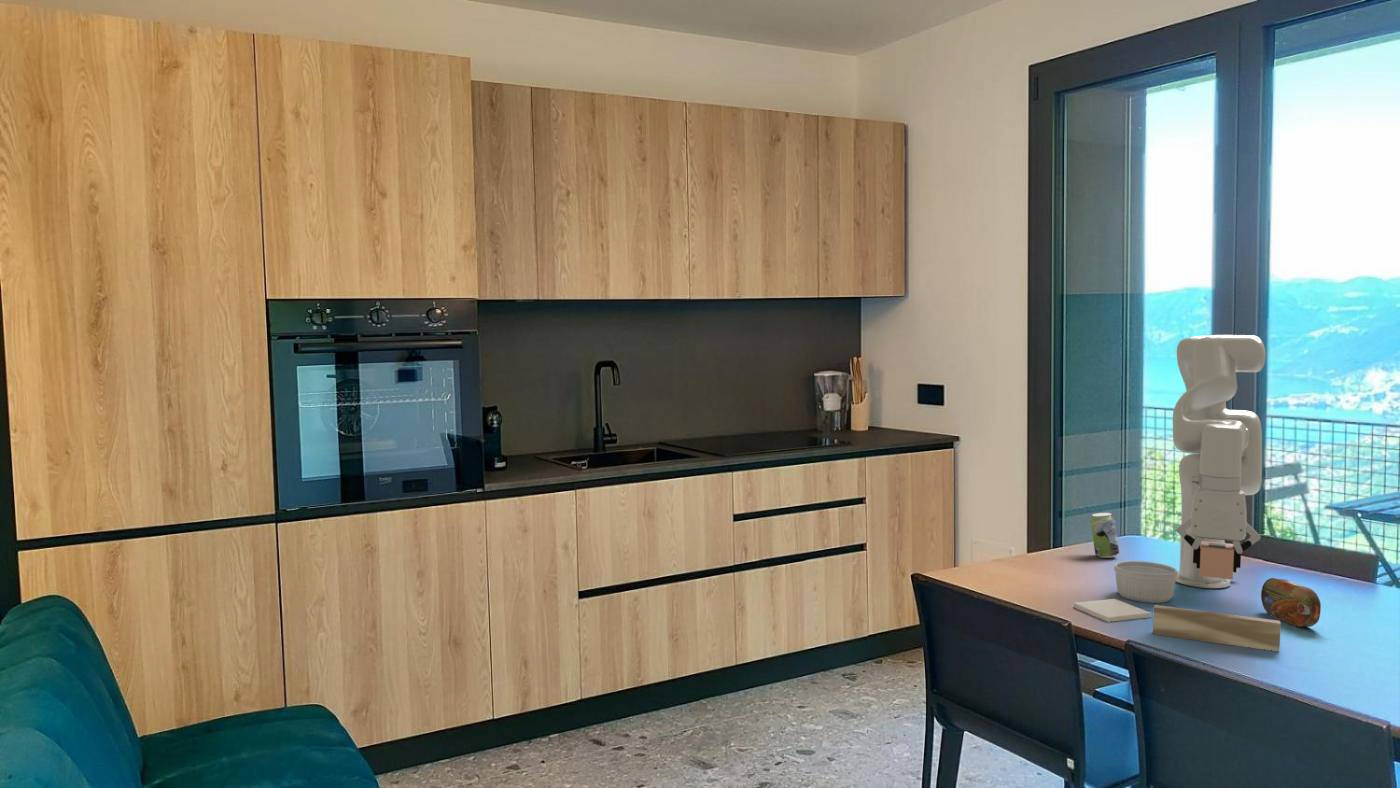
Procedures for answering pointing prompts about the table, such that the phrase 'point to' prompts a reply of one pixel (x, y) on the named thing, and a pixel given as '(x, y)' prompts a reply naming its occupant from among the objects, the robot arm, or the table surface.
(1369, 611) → the table surface
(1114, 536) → the beverage can
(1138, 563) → the ramekin
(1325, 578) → the table surface
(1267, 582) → the tin
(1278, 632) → the wooden plank
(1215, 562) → the marked cube
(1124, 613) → the display tile
